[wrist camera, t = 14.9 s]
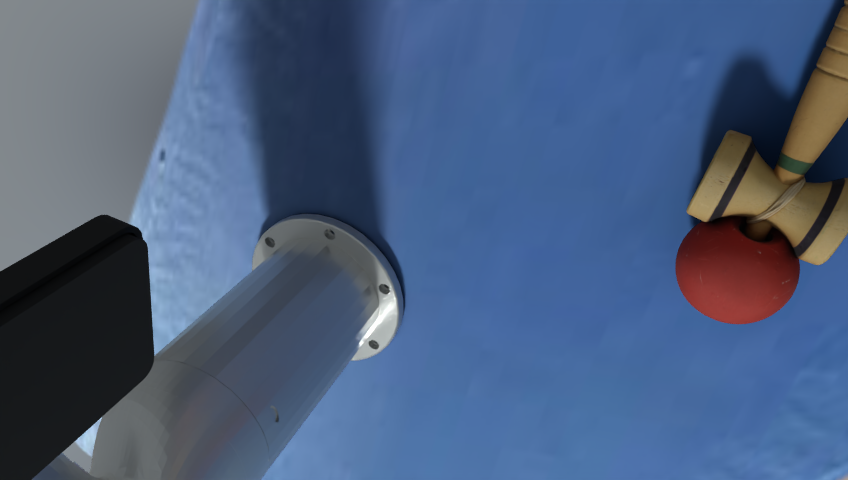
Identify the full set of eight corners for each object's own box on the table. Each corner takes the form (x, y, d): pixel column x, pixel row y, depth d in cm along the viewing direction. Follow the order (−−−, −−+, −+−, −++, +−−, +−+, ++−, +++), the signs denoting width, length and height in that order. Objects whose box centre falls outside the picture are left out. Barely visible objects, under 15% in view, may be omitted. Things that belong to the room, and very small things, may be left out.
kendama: (777, -52, 32) (634, 267, 40) (826, -50, 26) (648, 322, 34) (938, -8, 32) (762, 306, 40) (1022, 4, 26) (797, 368, 34)
